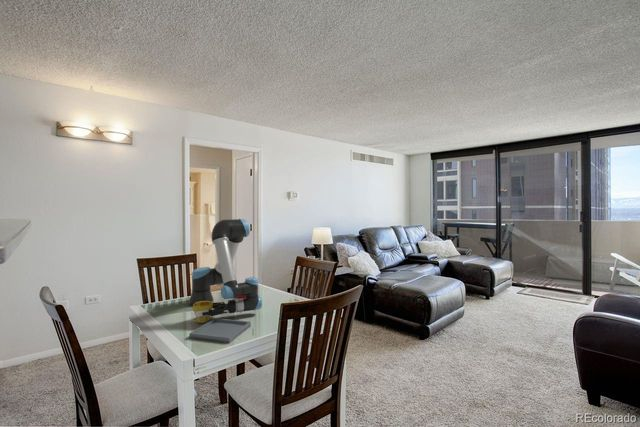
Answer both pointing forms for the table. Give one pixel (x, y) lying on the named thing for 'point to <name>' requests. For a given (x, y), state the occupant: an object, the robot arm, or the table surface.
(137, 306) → the table surface
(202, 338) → the tray
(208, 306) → the plant pot
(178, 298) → the table surface
